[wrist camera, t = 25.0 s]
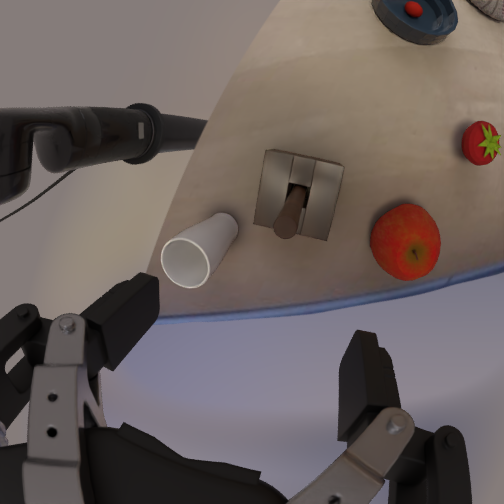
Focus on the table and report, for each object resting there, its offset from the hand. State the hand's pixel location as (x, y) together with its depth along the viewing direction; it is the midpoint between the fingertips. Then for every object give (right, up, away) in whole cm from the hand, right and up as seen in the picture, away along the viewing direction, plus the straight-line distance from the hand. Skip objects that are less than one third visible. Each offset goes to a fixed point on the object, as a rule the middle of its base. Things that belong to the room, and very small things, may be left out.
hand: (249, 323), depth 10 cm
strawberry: (+34, +20, +20) cm, 44 cm away
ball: (+25, +40, +12) cm, 48 cm away
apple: (+23, +6, +29) cm, 38 cm away
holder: (+7, +12, +30) cm, 33 cm away
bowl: (+25, +41, +14) cm, 50 cm away
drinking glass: (-5, +7, +35) cm, 36 cm away
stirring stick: (+7, +13, +30) cm, 33 cm away
